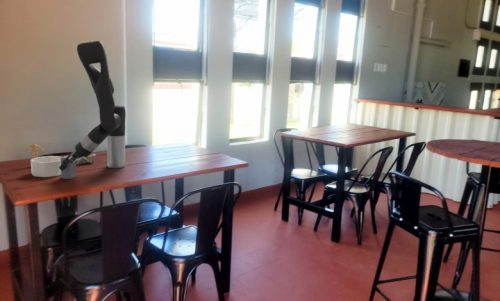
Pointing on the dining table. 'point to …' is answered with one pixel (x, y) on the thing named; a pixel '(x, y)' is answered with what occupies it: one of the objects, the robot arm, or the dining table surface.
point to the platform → (87, 159)
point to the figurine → (34, 149)
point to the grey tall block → (68, 170)
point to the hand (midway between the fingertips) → (65, 167)
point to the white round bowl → (46, 166)
